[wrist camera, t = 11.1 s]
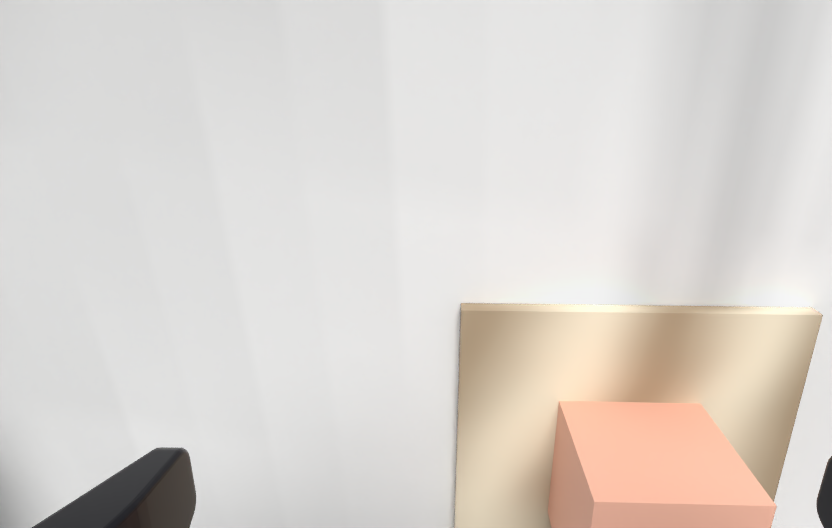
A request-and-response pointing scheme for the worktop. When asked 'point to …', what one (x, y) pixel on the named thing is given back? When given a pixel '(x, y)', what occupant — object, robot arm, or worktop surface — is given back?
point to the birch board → (615, 387)
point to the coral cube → (649, 470)
